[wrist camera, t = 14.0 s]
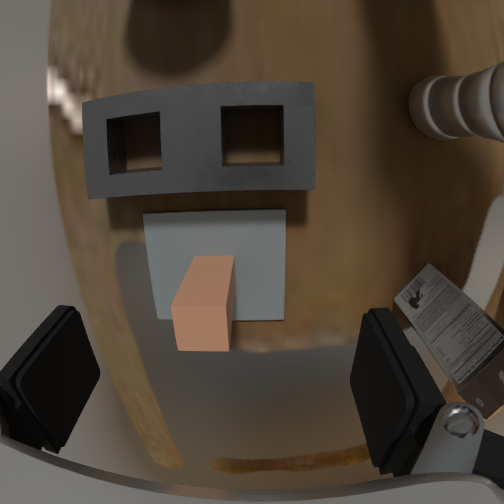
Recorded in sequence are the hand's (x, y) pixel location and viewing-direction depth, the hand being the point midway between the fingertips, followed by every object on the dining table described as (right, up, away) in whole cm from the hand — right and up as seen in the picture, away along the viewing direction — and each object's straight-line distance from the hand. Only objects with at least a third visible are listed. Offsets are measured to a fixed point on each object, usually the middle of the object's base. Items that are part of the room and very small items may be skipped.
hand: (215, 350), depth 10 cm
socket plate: (-4, +14, +18) cm, 23 cm away
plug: (-3, +1, +23) cm, 23 cm away
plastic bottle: (+19, +18, +17) cm, 31 cm away
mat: (-3, +1, +23) cm, 23 cm away
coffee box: (+23, -3, +24) cm, 33 cm away
